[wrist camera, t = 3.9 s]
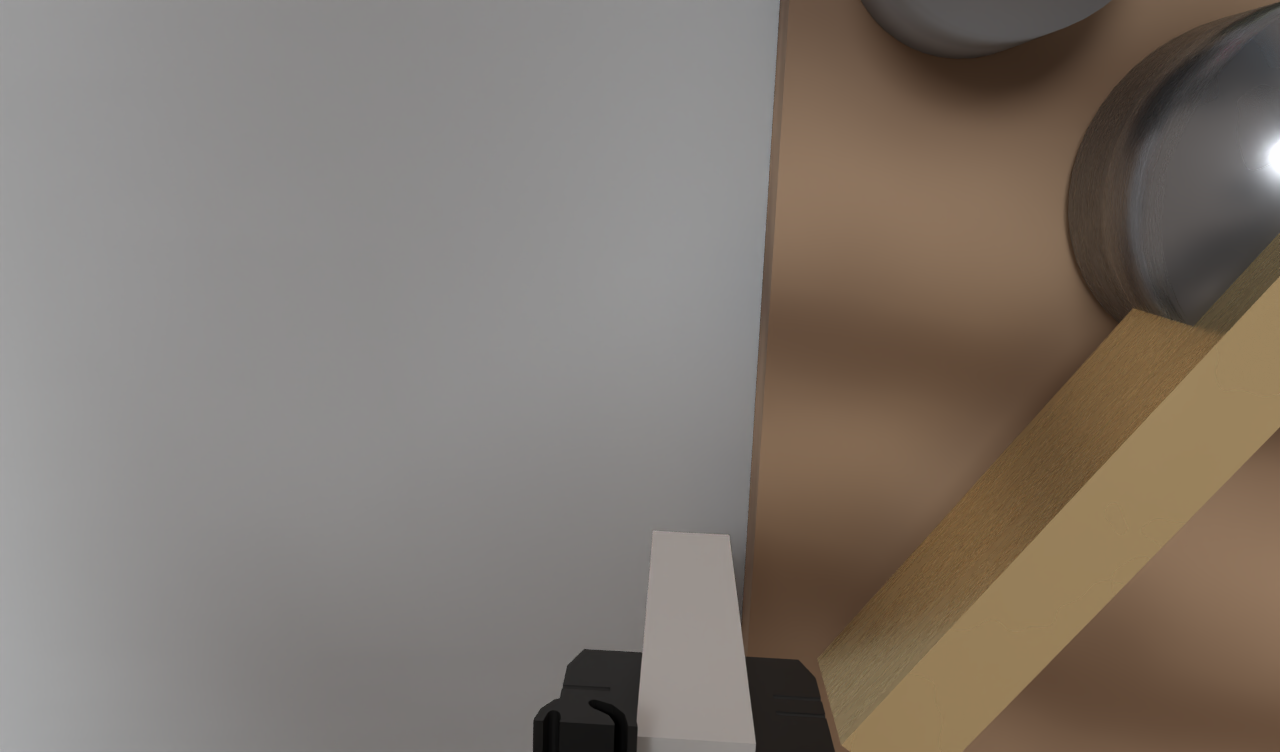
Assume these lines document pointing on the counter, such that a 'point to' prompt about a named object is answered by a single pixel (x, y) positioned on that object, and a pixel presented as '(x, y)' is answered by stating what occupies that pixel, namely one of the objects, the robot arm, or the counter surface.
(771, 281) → the instrument base
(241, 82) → the counter surface
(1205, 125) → the ball-head mallet
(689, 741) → the robot arm
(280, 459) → the counter surface
